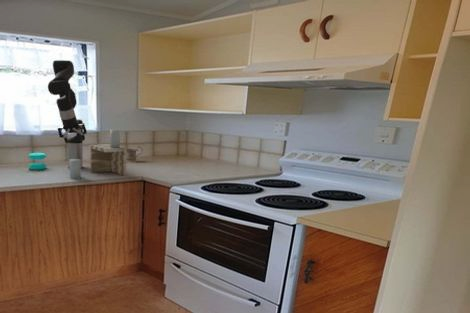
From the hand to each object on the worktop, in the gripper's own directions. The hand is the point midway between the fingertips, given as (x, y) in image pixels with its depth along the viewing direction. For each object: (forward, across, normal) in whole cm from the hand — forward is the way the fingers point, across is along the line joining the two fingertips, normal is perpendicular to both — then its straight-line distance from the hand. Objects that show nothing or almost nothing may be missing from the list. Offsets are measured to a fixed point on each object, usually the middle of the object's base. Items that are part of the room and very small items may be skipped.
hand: (75, 141), depth 192 cm
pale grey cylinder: (+13, -20, -9) cm, 26 cm away
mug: (+50, -30, -47) cm, 75 cm away
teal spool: (+29, +31, -26) cm, 50 cm away
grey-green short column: (+23, +6, +2) cm, 24 cm away
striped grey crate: (+30, -12, -6) cm, 33 cm away
